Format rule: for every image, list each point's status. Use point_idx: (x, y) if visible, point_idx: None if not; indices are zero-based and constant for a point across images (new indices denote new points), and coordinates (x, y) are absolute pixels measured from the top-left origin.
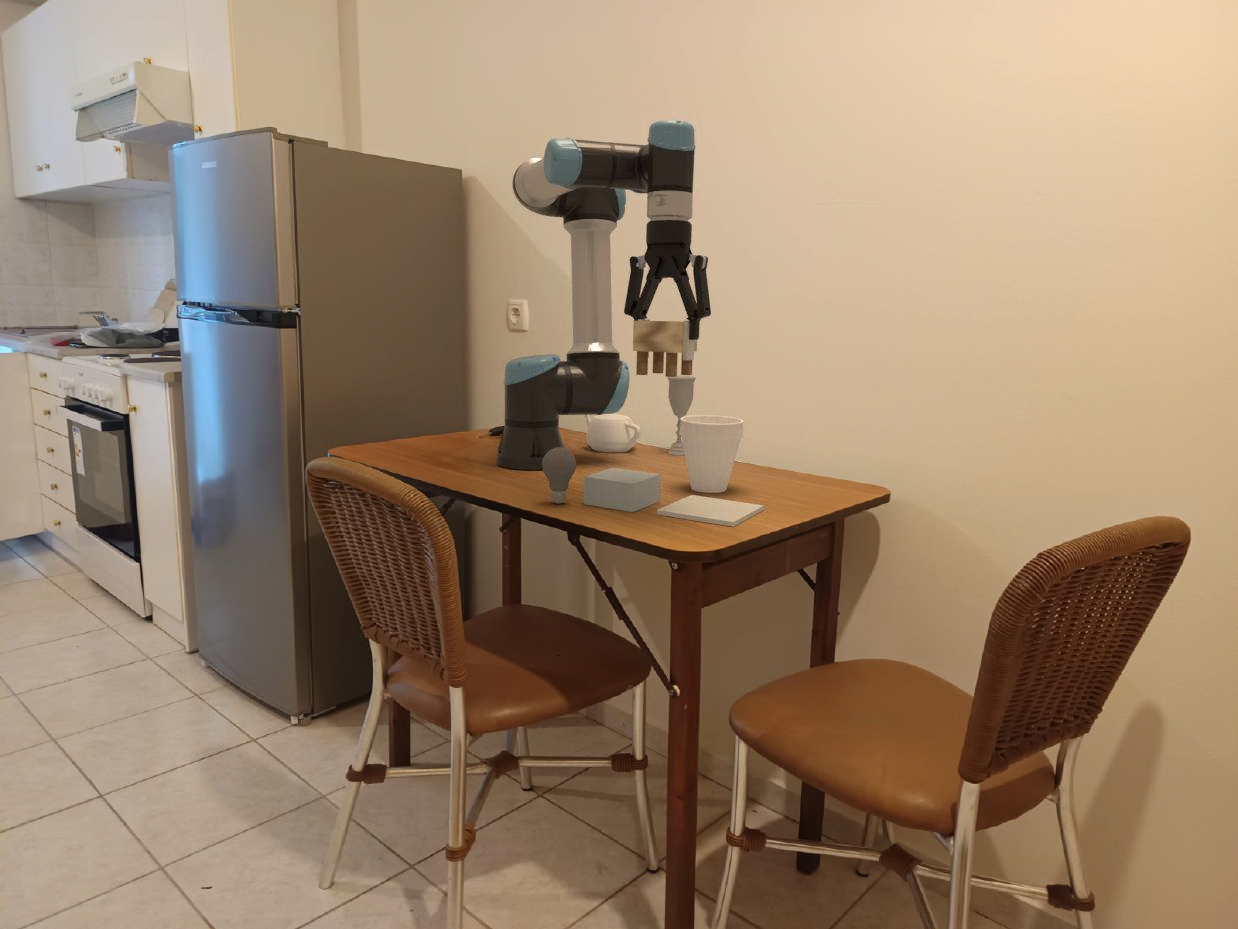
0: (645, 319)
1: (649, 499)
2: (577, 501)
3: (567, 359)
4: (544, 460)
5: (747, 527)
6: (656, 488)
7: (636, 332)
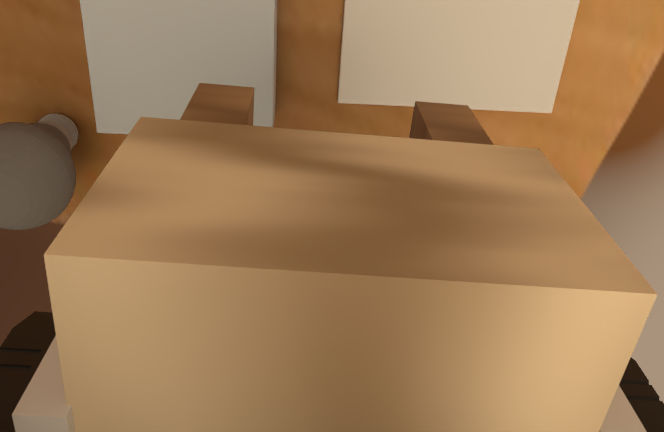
0: (20, 430)
1: (276, 22)
2: (83, 82)
3: None
4: None
5: (580, 92)
6: None
7: None
